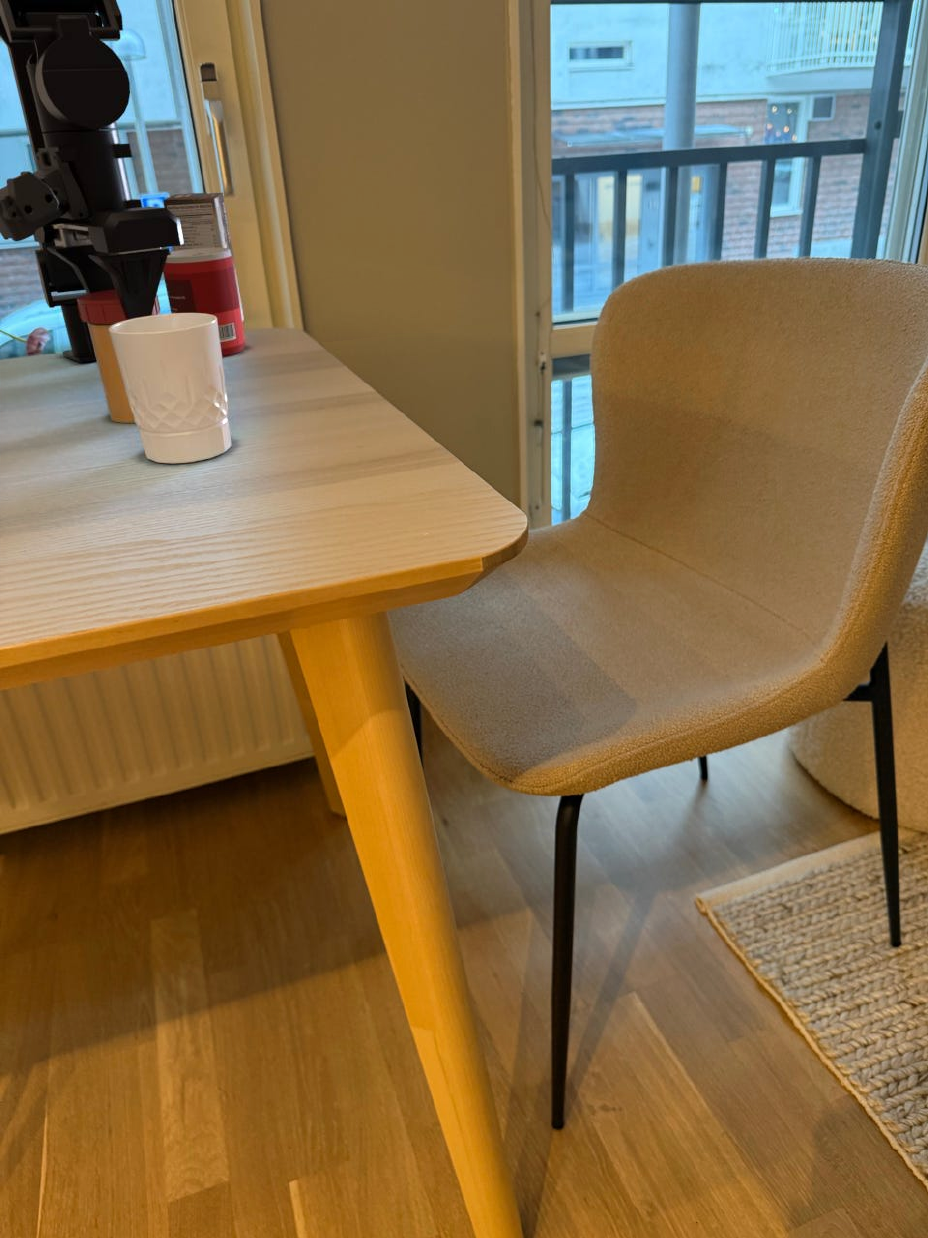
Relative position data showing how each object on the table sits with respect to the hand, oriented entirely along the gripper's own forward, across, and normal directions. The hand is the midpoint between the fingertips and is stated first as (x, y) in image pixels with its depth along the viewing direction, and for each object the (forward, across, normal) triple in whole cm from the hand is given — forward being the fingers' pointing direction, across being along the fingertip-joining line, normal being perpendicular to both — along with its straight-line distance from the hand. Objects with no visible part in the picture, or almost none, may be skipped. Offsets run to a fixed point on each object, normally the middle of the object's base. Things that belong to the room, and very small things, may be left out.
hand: (125, 332), depth 79 cm
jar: (+7, 0, 0) cm, 7 cm away
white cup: (+8, +14, -2) cm, 16 cm away
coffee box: (+8, -33, +24) cm, 41 cm away
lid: (-3, 0, 0) cm, 3 cm away
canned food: (+8, -20, +17) cm, 27 cm away
